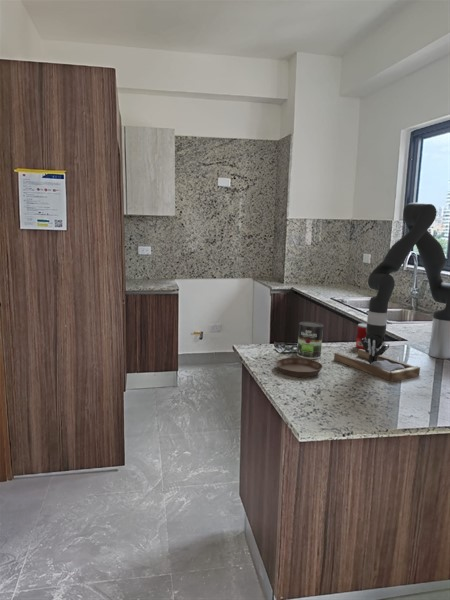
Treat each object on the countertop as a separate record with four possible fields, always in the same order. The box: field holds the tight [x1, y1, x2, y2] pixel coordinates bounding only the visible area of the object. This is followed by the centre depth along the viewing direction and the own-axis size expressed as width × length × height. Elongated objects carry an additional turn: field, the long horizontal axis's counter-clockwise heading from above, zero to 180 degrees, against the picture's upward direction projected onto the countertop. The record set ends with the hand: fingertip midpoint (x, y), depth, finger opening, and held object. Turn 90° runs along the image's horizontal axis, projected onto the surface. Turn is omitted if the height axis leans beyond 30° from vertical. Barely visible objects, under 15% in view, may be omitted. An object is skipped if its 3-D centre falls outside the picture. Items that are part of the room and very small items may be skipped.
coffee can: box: [296, 321, 325, 360], centre depth 196 cm, size 10×10×14 cm
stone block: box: [371, 360, 405, 372], centre depth 179 cm, size 12×5×10 cm
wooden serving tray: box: [333, 348, 421, 383], centre depth 185 cm, size 16×30×3 cm, turn 32°
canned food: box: [355, 322, 367, 350], centre depth 214 cm, size 8×8×11 cm
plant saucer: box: [275, 357, 324, 378], centre depth 176 cm, size 18×18×3 cm
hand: (372, 364), depth 186 cm, fingers closed
